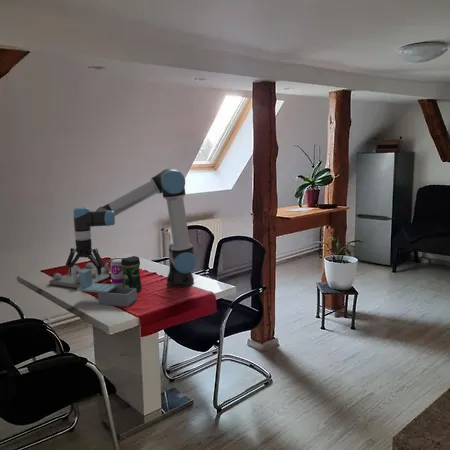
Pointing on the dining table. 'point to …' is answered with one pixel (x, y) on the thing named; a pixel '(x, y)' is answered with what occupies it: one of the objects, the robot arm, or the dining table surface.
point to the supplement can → (116, 272)
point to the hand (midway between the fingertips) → (86, 280)
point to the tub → (118, 297)
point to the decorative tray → (68, 281)
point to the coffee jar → (131, 272)
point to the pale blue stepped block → (92, 287)
